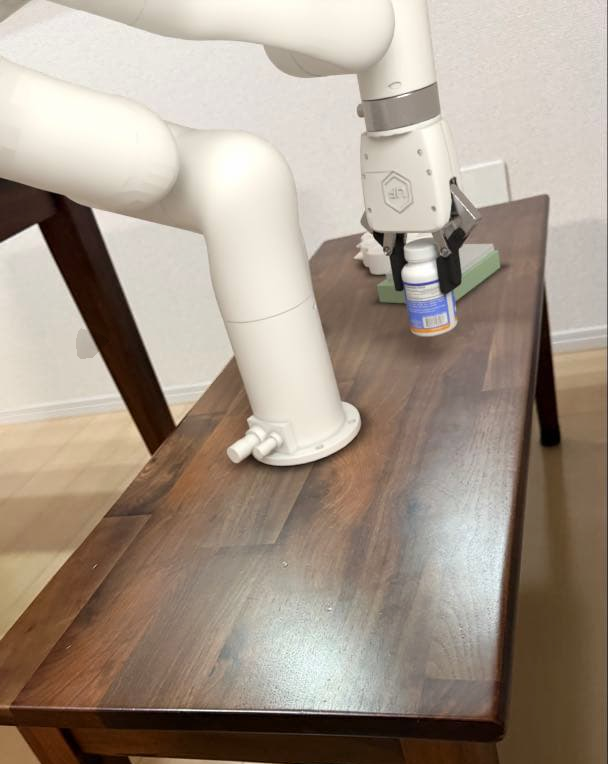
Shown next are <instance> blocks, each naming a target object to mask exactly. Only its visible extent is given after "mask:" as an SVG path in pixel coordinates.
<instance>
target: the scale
mask: <svg viewBox="0 0 608 764" xmlns="http://www.w3.org/2000/svg"><path fill="white" fill-rule="evenodd" d="M499 253H500V252H499V250H498V249H495V247H494V243H463V246H462V247H461V248H460V249H459V256H460V264H461V272H462V278H461V280H462V282H461V285H459V286H458V287H457V288H455V289H454V297H455V302H457V301H459V300H460V299H461V298H462V297H464V296H465V295H466V294H467V293H468V292H470V291H472V290H473V289H474V288H475V287H477V286H478V285H480V284H481V283H482V282H483V281H485V280H486V279H487V278H489V277H491V275H492V274H494V273H496V271H498V270H499V269H500V268H501V262H500V261H501V260H500V255H499ZM440 256H441V255H440ZM376 289H377V293H378V294H377V295H378V299H379V303H388V304H389V303H391V304H406V299H405V293H404V290H402V291H396V290H395V286H394V280H393V275H392V270H390V271H389V272H387V273H386V274H385V279H384V280H382V281H381V282H380V283H378V284H376Z"/></svg>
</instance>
